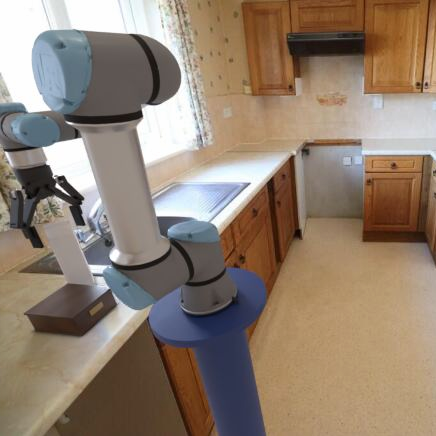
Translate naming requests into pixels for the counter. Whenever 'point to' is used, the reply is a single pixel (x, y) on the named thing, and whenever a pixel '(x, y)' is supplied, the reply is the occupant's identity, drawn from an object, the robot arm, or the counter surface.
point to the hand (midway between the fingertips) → (61, 235)
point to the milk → (69, 253)
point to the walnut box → (72, 309)
